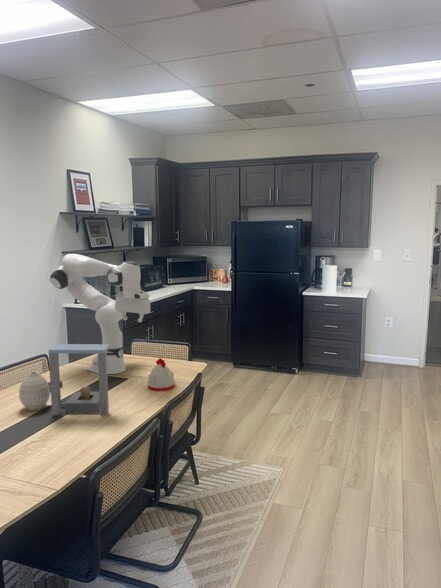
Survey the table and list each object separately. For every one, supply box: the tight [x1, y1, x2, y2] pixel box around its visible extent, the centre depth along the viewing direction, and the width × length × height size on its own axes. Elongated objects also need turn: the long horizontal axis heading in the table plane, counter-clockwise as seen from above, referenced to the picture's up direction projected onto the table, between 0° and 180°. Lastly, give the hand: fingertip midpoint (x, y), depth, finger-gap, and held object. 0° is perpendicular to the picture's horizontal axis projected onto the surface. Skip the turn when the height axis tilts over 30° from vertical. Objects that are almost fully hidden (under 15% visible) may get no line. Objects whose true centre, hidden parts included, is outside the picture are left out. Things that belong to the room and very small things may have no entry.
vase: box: [18, 371, 51, 412], centre depth 196 cm, size 13×13×17 cm
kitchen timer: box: [147, 357, 176, 392], centre depth 224 cm, size 14×14×15 cm
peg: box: [80, 385, 91, 400], centre depth 198 cm, size 4×4×9 cm
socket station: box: [48, 343, 110, 416], centre depth 195 cm, size 16×24×30 cm
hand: (132, 320), depth 218 cm, fingers open, 8 cm apart
